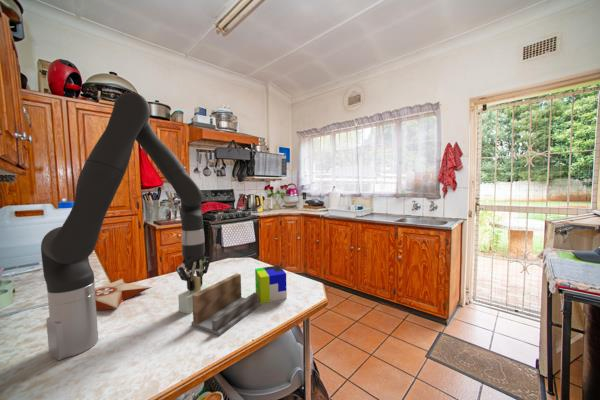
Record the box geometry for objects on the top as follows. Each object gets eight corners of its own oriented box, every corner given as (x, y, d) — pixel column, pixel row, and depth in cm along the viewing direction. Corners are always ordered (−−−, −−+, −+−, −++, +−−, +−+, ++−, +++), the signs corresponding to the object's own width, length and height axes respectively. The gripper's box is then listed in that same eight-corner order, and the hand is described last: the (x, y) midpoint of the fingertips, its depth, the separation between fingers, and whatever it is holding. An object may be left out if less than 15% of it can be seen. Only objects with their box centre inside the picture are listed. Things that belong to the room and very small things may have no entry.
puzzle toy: (286, 298, 92) (286, 273, 92) (261, 303, 89) (260, 277, 88) (279, 288, 102) (278, 265, 101) (255, 292, 98) (255, 268, 97)
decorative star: (132, 271, 112) (160, 287, 94) (132, 280, 112) (161, 297, 94) (43, 294, 89) (58, 321, 71) (44, 304, 89) (59, 334, 71)
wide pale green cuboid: (188, 314, 82) (187, 283, 81) (179, 311, 84) (177, 280, 83) (211, 301, 91) (210, 273, 90) (202, 298, 93) (201, 271, 92)
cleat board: (219, 335, 70) (218, 302, 69) (191, 325, 75) (190, 294, 75) (260, 304, 88) (260, 278, 87) (235, 298, 93) (234, 273, 92)
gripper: (182, 247, 78) (185, 298, 79) (215, 238, 90) (217, 283, 91) (168, 245, 81) (170, 294, 82) (201, 236, 94) (203, 279, 95)
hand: (195, 288), depth 87 cm, fingers open, 3 cm apart
